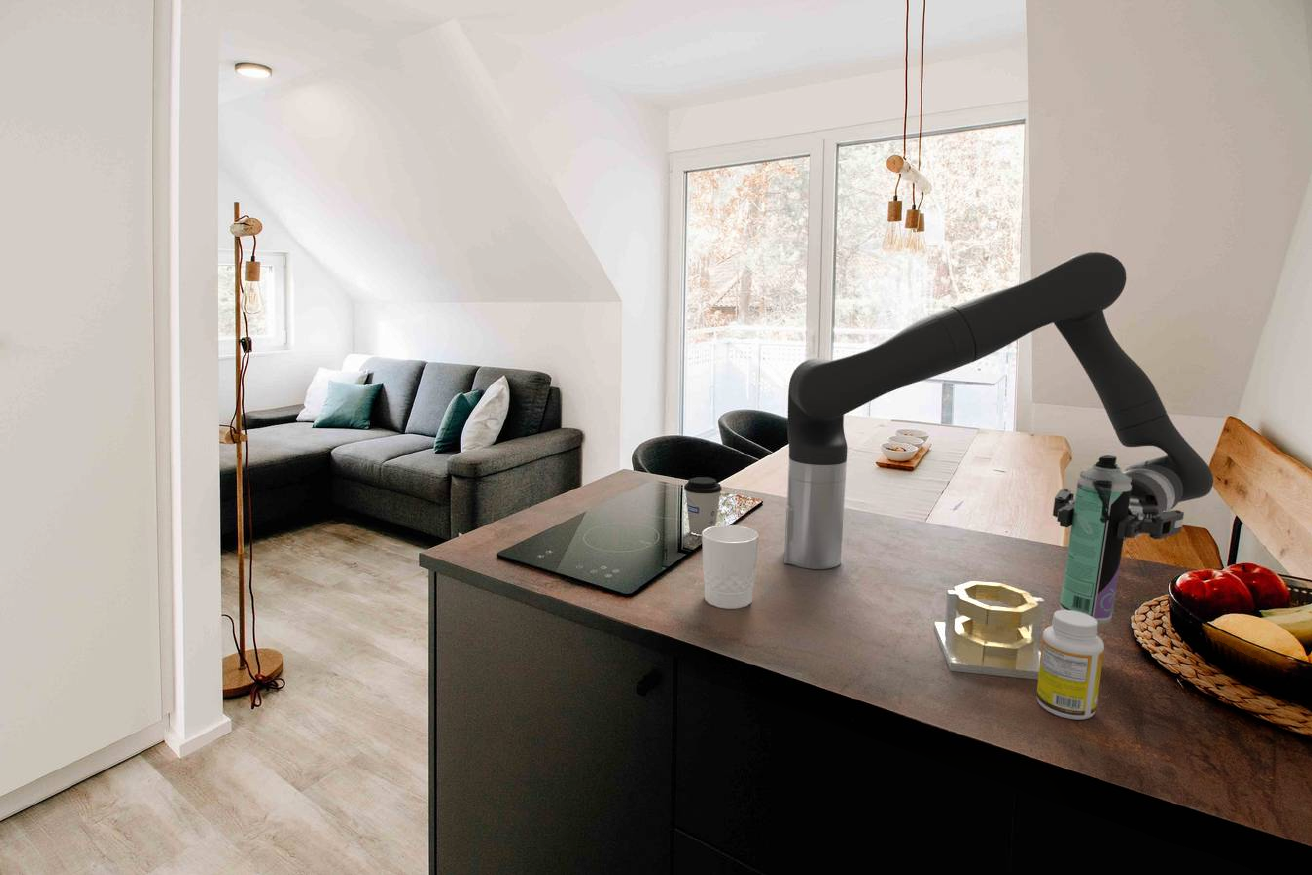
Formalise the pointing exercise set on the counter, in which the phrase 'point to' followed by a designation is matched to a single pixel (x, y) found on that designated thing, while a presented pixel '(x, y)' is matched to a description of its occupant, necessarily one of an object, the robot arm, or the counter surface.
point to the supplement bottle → (1070, 666)
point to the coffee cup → (702, 503)
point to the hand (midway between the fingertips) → (1092, 524)
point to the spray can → (1096, 540)
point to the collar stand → (992, 631)
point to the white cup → (729, 565)
